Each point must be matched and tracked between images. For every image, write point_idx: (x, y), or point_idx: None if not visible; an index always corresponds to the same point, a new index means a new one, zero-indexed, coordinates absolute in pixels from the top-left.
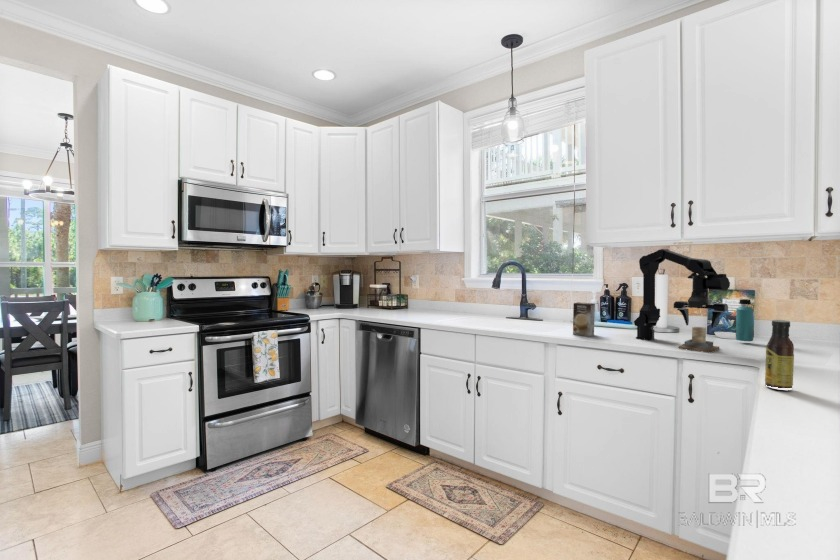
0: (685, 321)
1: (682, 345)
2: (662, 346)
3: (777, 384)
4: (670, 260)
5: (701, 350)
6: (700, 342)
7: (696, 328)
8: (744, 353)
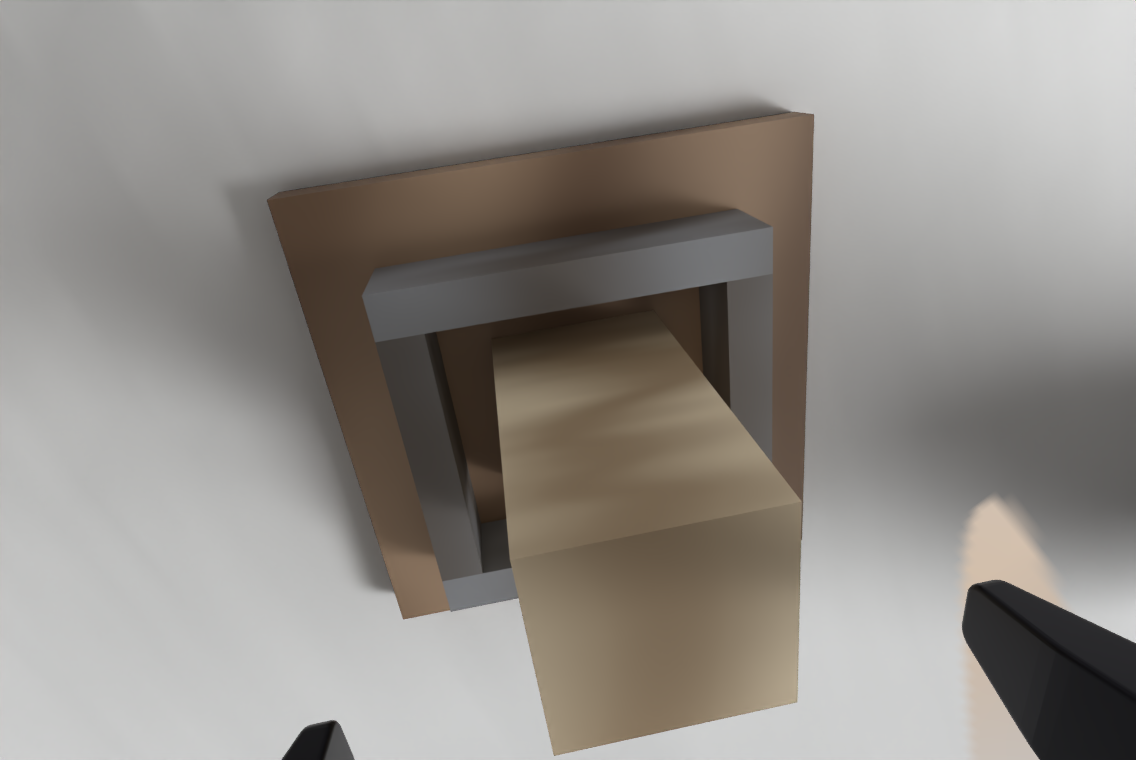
0: (1126, 643)
1: (783, 257)
2: (1038, 87)
3: None
4: None
5: (428, 170)
6: (531, 365)
7: (682, 514)
8: (31, 566)
